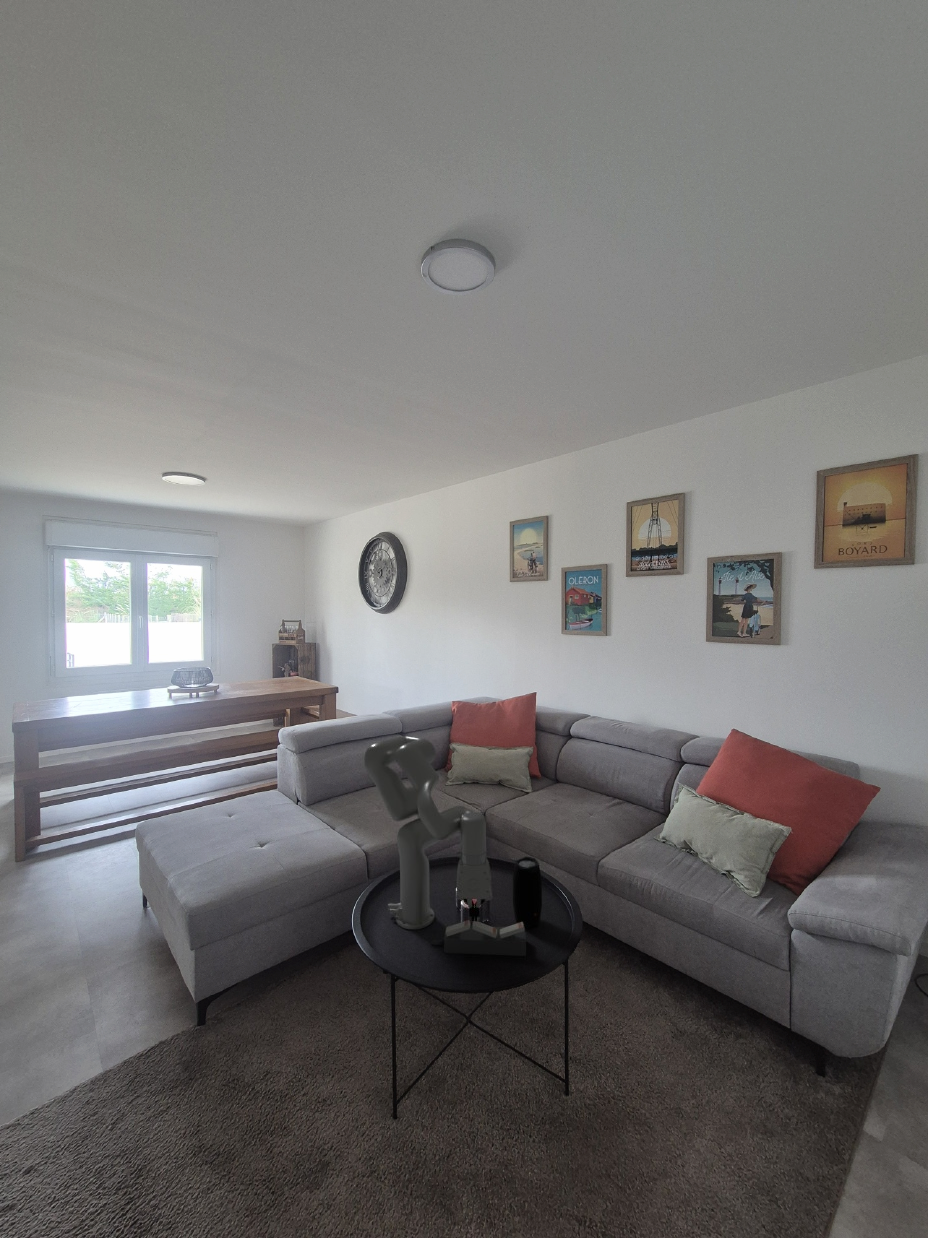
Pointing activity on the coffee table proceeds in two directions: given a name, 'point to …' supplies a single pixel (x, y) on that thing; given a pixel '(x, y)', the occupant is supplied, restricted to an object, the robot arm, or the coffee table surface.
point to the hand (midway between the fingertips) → (474, 918)
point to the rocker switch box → (483, 943)
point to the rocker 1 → (458, 928)
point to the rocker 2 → (485, 929)
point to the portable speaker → (527, 891)
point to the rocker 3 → (512, 930)
